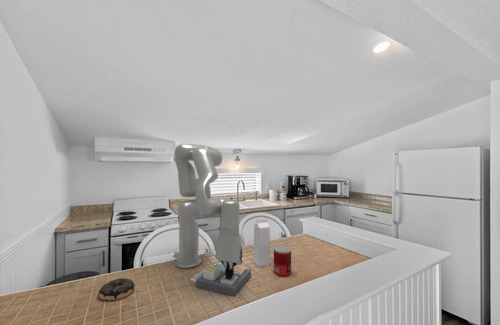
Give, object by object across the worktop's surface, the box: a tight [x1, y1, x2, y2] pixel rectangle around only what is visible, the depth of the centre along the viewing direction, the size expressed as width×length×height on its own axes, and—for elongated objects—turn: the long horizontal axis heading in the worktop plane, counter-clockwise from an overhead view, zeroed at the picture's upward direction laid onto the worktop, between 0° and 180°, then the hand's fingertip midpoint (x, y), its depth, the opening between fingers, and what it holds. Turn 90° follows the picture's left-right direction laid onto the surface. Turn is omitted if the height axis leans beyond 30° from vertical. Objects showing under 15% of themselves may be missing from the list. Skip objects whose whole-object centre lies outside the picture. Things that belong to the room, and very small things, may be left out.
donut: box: [98, 277, 136, 302], centre depth 86 cm, size 11×12×4 cm
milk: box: [253, 219, 271, 268], centre depth 114 cm, size 6×6×22 cm
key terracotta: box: [234, 266, 246, 277], centre depth 98 cm, size 5×5×4 cm
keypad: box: [195, 263, 252, 298], centre depth 95 cm, size 17×17×3 cm
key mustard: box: [202, 265, 220, 281], centre depth 93 cm, size 5×5×4 cm
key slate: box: [221, 275, 237, 286], centre depth 90 cm, size 5×5×4 cm
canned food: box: [273, 245, 292, 277], centre depth 104 cm, size 8×8×11 cm
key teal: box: [216, 263, 225, 273], centre depth 100 cm, size 5×5×4 cm
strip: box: [189, 268, 206, 283], centre depth 100 cm, size 4×11×1 cm, turn 158°
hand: (229, 277), depth 90 cm, fingers closed
